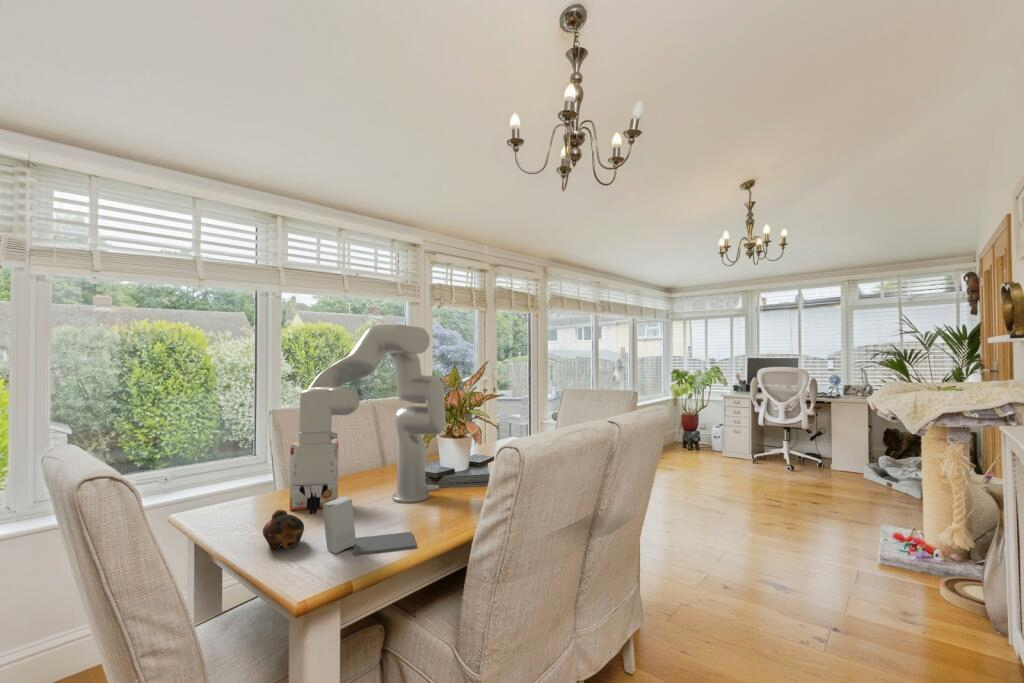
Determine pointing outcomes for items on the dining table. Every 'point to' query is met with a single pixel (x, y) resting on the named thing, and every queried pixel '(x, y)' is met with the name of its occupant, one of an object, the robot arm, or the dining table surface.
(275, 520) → the decorative turtle
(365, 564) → the dining table surface
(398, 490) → the robot arm
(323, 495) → the cracker box
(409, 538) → the slate mat
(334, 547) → the skincare box
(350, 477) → the dining table surface
